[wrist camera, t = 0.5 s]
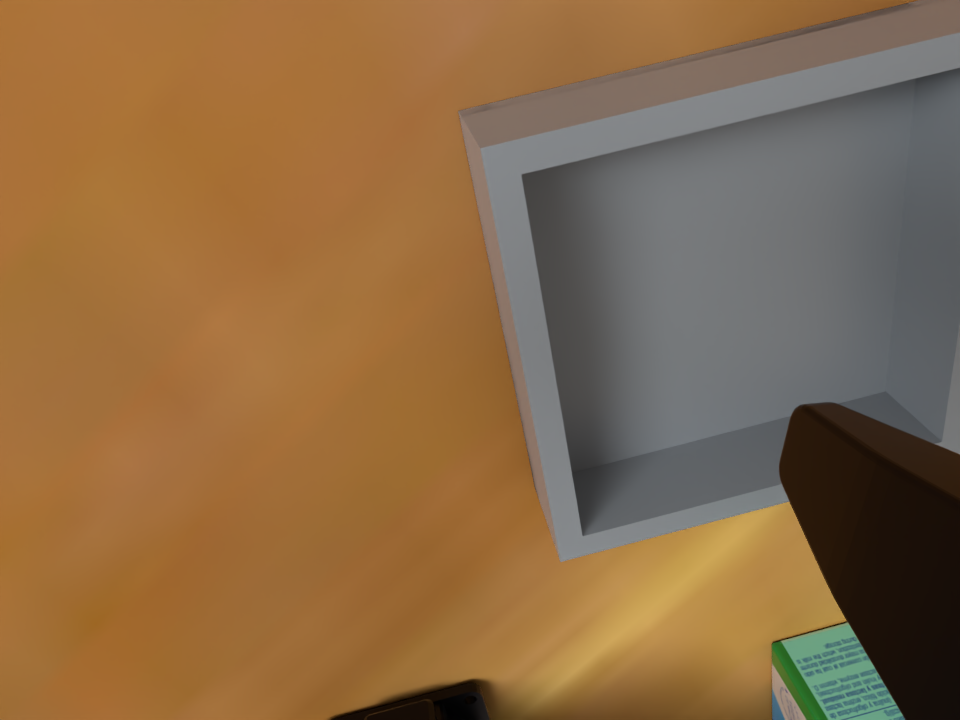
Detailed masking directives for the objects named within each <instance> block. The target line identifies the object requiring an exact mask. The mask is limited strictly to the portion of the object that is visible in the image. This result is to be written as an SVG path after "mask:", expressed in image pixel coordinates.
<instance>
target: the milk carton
mask: <svg viewBox="0 0 960 720" xmlns="http://www.w3.org/2000/svg"><path fill="white" fill-rule="evenodd" d="M772 720H905V719H904V717H903V715H902V713H901V712H900V710H899V708H898V707H897V705H896V703H895V702H894V700H893V698H892V696H891V695H890V693H889V691H888V690H887V688H886V686H885V685H884V683H883V681H882V679H881V678H880V676H879V674H878V673H877V671H876V669H875V668H874V666H873V664H872V662H871V661H870V659H869V657H868V656H867V654H866V652H865V651H864V649H863V647H862V645H861V644H860V642H859V640H858V639H857V637H856V635H855V634H854V632H853V630H852V628H851V627H850V625H849V623H848V622H847V623H844V624H840V625H836V626H833V627H829V628H826V629H822V630H818V631H815V632H811V633H808V634H804V635H800V636H797V637H793V638H789V639H786V640H782V641H779V642H775V643H772Z"/></svg>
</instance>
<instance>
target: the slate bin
mask: <svg viewBox="0 0 960 720" xmlns="http://www.w3.org/2000/svg"><path fill="white" fill-rule="evenodd" d="M458 113H459V117H460V122H461V127H462V132H463V137H464V142H465V147H466V152H467V157H468V162H469V166H470V171H471V176H472V181H473V186H474V191H475V196H476V201H477V206H478V211H479V215H480V220H481V225H482V230H483V235H484V240H485V245H486V250H487V255H488V260H489V264H490V269H491V274H492V279H493V284H494V289H495V294H496V299H497V304H498V309H499V313H500V318H501V323H502V328H503V333H504V338H505V343H506V348H507V353H508V358H509V362H510V367H511V372H512V377H513V382H514V387H515V392H516V397H517V402H518V407H519V411H520V416H521V421H522V426H523V431H524V436H525V441H526V446H527V451H528V456H529V460H530V465H531V470H532V475H533V480H534V485H535V489H536V492H537V495H538V498H539V501H540V504H541V507H542V510H543V513H544V515H545V518H546V521H547V524H548V527H549V530H550V533H551V536H552V539H553V542H554V544H555V547H556V550H557V553H558V556H559V559H560V562H562V561H566V560H570V559H573V558H577V557H581V556H585V555H588V554H592V553H596V552H600V551H604V550H607V549H611V548H615V547H619V546H623V545H626V544H630V543H634V542H638V541H641V540H645V539H649V538H653V537H657V536H660V535H664V534H668V533H672V532H676V531H679V530H683V529H687V528H691V527H694V526H698V525H702V524H706V523H710V522H713V521H717V520H721V519H725V518H729V517H732V516H736V515H740V514H744V513H747V512H751V511H755V510H759V509H763V508H766V507H770V506H774V505H778V504H782V503H785V502H789V499H788V497H787V495H786V493H785V491H784V488H783V486H782V483H781V480H780V476H779V461H780V457H781V453H782V449H783V445H784V441H785V437H786V433H787V429H788V425H789V420H790V417H791V414H792V412H793V411H794V409H795V408H796V407H797V406H799V405H801V404H809V403H821V402H834V403H837V404H840V405H842V406H844V407H847V408H849V409H852V410H854V411H857V412H859V413H861V414H864V415H866V416H869V417H871V418H873V419H876V420H878V421H881V422H883V423H885V424H888V425H890V426H893V427H895V428H898V429H900V430H902V431H905V432H907V433H910V434H912V435H914V436H917V437H919V438H922V439H924V440H927V441H929V442H931V443H934V444H936V445H939V446H941V447H943V448H946V449H948V450H951V451H953V452H956V453H958V454H960V0H919V1H915V2H911V3H907V4H902V5H898V6H894V7H890V8H886V9H882V10H877V11H873V12H869V13H865V14H861V15H857V16H852V17H848V18H844V19H840V20H836V21H831V22H827V23H823V24H819V25H815V26H811V27H806V28H802V29H798V30H794V31H790V32H786V33H781V34H777V35H773V36H769V37H765V38H761V39H756V40H752V41H748V42H744V43H740V44H736V45H731V46H727V47H723V48H719V49H715V50H711V51H706V52H702V53H698V54H694V55H690V56H686V57H681V58H677V59H673V60H669V61H665V62H660V63H656V64H652V65H648V66H644V67H640V68H635V69H631V70H627V71H623V72H619V73H615V74H610V75H606V76H602V77H598V78H594V79H590V80H585V81H581V82H577V83H573V84H569V85H565V86H560V87H556V88H552V89H548V90H544V91H540V92H535V93H531V94H527V95H523V96H519V97H515V98H510V99H506V100H502V101H498V102H494V103H489V104H485V105H481V106H477V107H473V108H469V109H464V110H460V111H458Z"/></svg>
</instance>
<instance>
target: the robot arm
mask: <svg viewBox="0 0 960 720" xmlns="http://www.w3.org/2000/svg"><path fill="white" fill-rule="evenodd" d="M779 476H780V480H781V483H782V486H783V488H784V491H785V493H786V495H787V497H788V499H789V502H790V504H791V506H792V508H793V510H794V513H795V515H796V517H797V519H798V521H799V524H800V526H801V528H802V530H803V532H804V535H805V537H806V539H807V541H808V543H809V546H810V548H811V550H812V552H813V554H814V557H815V559H816V561H817V563H818V565H819V568H820V570H821V572H822V574H823V576H824V579H825V581H826V583H827V585H828V587H829V589H830V591H831V593H832V595H833V597H834V599H835V600H836V602H837V604H838V606H839V608H840V609H841V611H842V613H843V615H844V617H845V618H846V620H847V622H848V623H849V625H850V627H851V628H852V630H853V632H854V634H855V635H856V637H857V639H858V640H859V642H860V644H861V645H862V647H863V649H864V651H865V652H866V654H867V656H868V657H869V659H870V661H871V662H872V664H873V666H874V668H875V669H876V671H877V673H878V674H879V676H880V678H881V679H882V681H883V683H884V685H885V686H886V688H887V690H888V691H889V693H890V695H891V696H892V698H893V700H894V702H895V703H896V705H897V707H898V708H899V710H900V712H901V713H902V715H903V717H904V719H905V720H960V454H958V453H956V452H953V451H951V450H948V449H946V448H943V447H941V446H939V445H936V444H934V443H931V442H929V441H927V440H924V439H922V438H919V437H917V436H914V435H912V434H910V433H907V432H905V431H902V430H900V429H898V428H895V427H893V426H890V425H888V424H885V423H883V422H881V421H878V420H876V419H873V418H871V417H869V416H866V415H864V414H861V413H859V412H857V411H854V410H852V409H849V408H847V407H844V406H842V405H840V404H837V403H834V402H821V403H809V404H801V405H799V406H797V407H796V408H795V409H794V411H793V412H792V414H791V417H790V420H789V425H788V429H787V433H786V437H785V441H784V445H783V449H782V453H781V457H780V461H779ZM334 720H490V716H489V713H488V710H487V707H486V703H485V700H484V697H483V693H482V690H481V688H480V686H479V685H477V684H474V683H468V684H464V685H460V686H456V687H452V688H449V689H445V690H441V691H438V692H434V693H430V694H426V695H423V696H419V697H415V698H412V699H408V700H404V701H400V702H397V703H393V704H389V705H386V706H382V707H378V708H374V709H371V710H367V711H363V712H360V713H356V714H352V715H348V716H345V717H341V718H337V719H334Z"/></svg>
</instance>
